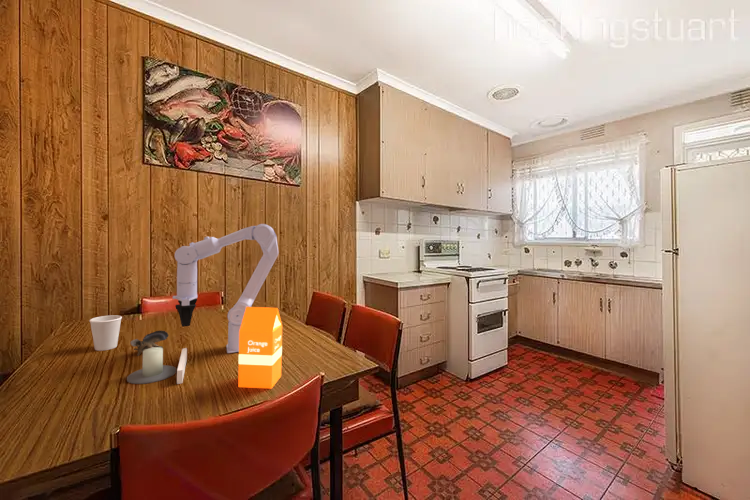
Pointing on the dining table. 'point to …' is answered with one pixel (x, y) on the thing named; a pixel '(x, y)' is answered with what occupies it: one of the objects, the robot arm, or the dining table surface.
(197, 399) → the dining table surface
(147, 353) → the sage cylinder
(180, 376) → the divider wall
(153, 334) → the eagle figurine
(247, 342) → the orange juice
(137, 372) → the rubber mat
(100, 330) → the dixie cup
